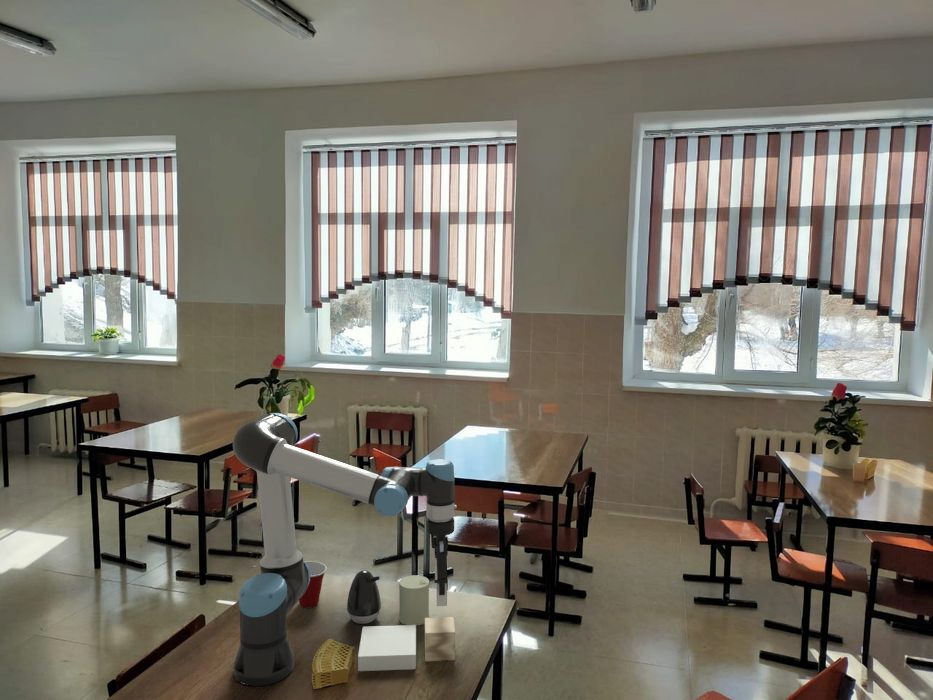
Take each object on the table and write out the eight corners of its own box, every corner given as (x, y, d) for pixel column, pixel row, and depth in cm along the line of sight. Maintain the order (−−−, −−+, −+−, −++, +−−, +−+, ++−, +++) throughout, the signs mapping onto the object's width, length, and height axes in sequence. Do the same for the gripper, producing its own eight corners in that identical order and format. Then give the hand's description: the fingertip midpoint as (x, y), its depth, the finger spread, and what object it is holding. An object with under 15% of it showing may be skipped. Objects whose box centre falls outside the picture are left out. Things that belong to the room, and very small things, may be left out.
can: (424, 627, 188) (424, 588, 187) (394, 624, 190) (394, 585, 189) (432, 612, 197) (432, 575, 196) (404, 609, 199) (404, 572, 198)
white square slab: (358, 671, 166) (358, 656, 165) (362, 640, 181) (362, 626, 180) (415, 669, 167) (415, 654, 167) (415, 638, 182) (415, 624, 181)
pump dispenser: (370, 631, 185) (370, 581, 184) (340, 624, 189) (339, 574, 188) (387, 615, 195) (387, 567, 193) (358, 608, 199) (358, 561, 197)
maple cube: (425, 661, 171) (425, 633, 170) (424, 645, 179) (424, 617, 178) (454, 660, 171) (455, 632, 171) (453, 644, 179) (453, 617, 178)
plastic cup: (322, 612, 196) (322, 574, 195) (287, 611, 196) (287, 574, 195) (330, 595, 207) (330, 560, 206) (297, 595, 207) (297, 559, 206)
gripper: (457, 534, 159) (457, 615, 161) (451, 502, 184) (451, 572, 186) (427, 535, 159) (427, 616, 161) (425, 502, 184) (426, 573, 185)
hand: (440, 593), depth 173 cm, fingers open, 13 cm apart
